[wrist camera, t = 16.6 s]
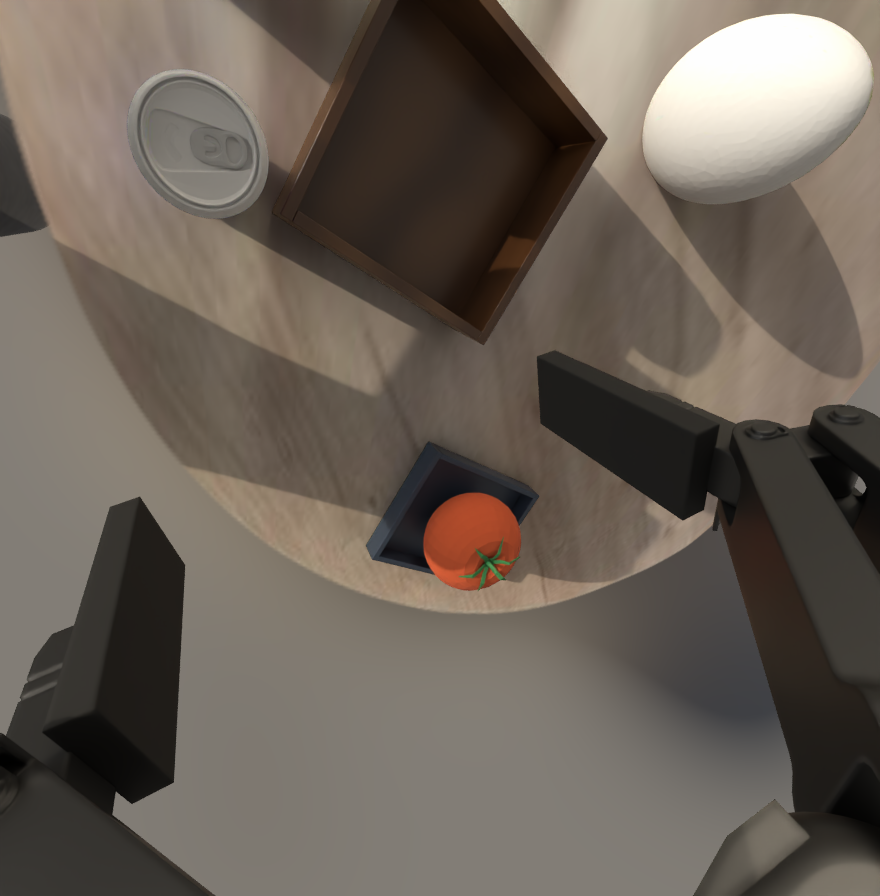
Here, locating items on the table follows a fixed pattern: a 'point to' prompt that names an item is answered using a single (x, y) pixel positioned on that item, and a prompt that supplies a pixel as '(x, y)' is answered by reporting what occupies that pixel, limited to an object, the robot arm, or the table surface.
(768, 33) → the decorative egg
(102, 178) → the table surface
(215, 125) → the beverage can
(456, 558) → the tomato
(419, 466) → the tray
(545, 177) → the open wooden box
